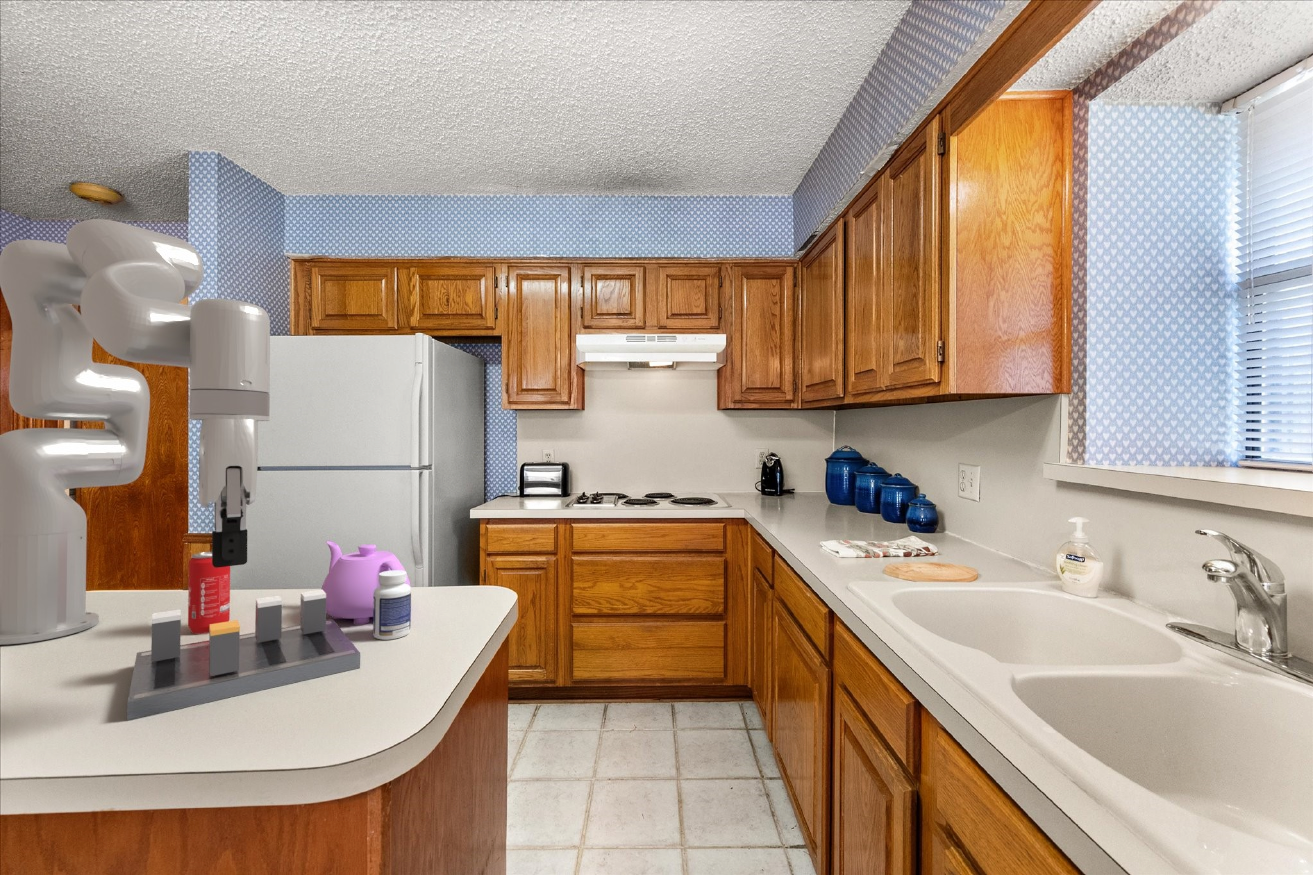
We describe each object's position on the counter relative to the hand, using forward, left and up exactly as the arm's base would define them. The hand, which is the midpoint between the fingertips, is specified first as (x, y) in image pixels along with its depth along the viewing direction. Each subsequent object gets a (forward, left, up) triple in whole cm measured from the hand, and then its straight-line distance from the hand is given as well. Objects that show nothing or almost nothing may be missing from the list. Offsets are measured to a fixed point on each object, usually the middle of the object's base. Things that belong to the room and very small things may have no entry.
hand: (229, 564), depth 67 cm
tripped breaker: (-4, 0, -14) cm, 14 cm away
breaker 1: (-14, -6, -14) cm, 20 cm away
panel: (-10, +3, -16) cm, 19 cm away
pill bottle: (-12, +21, -16) cm, 29 cm away
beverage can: (-32, -1, -16) cm, 36 cm away
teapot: (-26, +20, -16) cm, 37 cm away
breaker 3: (-14, +11, -14) cm, 22 cm away
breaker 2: (-14, +5, -14) cm, 20 cm away
